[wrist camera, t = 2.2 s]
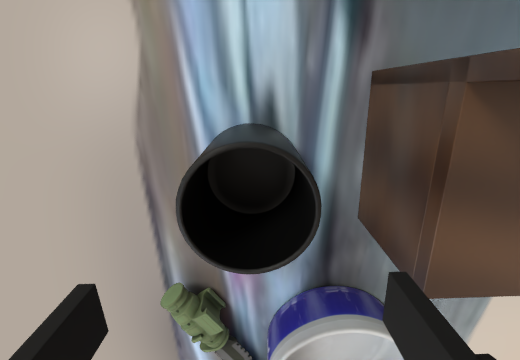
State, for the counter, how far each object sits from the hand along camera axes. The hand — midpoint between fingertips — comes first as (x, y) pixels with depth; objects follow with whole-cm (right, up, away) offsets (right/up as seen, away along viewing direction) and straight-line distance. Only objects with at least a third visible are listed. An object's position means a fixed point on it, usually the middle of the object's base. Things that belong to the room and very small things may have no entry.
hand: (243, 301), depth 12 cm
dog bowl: (+9, -13, +20) cm, 26 cm away
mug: (0, +5, +14) cm, 15 cm away
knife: (-6, -14, +19) cm, 24 cm away
